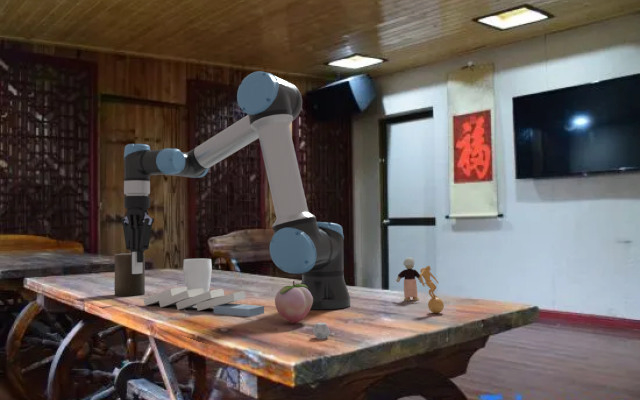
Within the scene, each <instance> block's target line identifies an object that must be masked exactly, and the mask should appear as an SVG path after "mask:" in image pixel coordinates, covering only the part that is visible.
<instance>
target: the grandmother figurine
mask: <svg viewBox="0 0 640 400" xmlns="http://www.w3.org/2000/svg"><path fill="white" fill-rule="evenodd" d="M415 262H416V261H415V259H414V258H413V257H411V256H409V257H406V259H404V260H403V263H402V264H403V265H404V266H405V268H406V269H403V270H402V271H400V272H399V274H397V279H396V282H397V283H399V282H400V281H401V280H402V279H403V278H404V280H403V292H404V293H403V295H404V298H403V300H404V301H405V302H407V301H409V302H411V301H420V298H419V297H418V284H417V280H418V282H419V283H420V284H422V281H421V279H420V274H421V273H419V272H418V271H417V270H416V269H415V268H414V266H415ZM411 298H412V300H411Z"/></svg>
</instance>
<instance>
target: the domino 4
mask: <svg viewBox="0 0 640 400" xmlns="http://www.w3.org/2000/svg"><path fill="white" fill-rule="evenodd" d="M245 299H247V295H246V291H245V290H242V291H238V292H233V293H232V292H231V293H229V294H228V293H227V294H225V296H221V297H218V298H214V299H211V300H207V301H203V302H200V303H196V309H197V312H199V311H203V310H208V309H211V308H214V306H217V305H223V304H228V303H234V302H237V301H241V300H245Z"/></svg>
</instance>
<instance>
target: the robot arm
mask: <svg viewBox="0 0 640 400" xmlns="http://www.w3.org/2000/svg"><path fill="white" fill-rule="evenodd" d="M236 98H237V99H236V101H237V104H238V106H239V108H240V109H241V110H242V111H243V112H244V113H245V114H247V115H246V116H244V117H242V118H241V119H239V120H238V121H235V122H234V123H232V124H231V125H230V126H228V127H226V128H225V129H223V130H221V131H220V132H218V133H217V134H215V135H213V136H212V137H210V138H209V139H207V140H205V141H203V143H201V144H200V145H197V146H196V147H195V148H193V149H191V150H190V151H188V152H187V151H186V152H185V151H181V150H180V149H178V148H169V147H167V148H162V149H161V148H159V149H151V147H150V145H148V144H144V143H128V144H126V145H125V146H124V153H123V165H124V168H123V170H124V171H123V178H124V179H123V180H124V181H123V194H124V195H125V196H124V197H123V207H124V209H126V214H125V217H124V218H123V217H122V218H121V219H120V223H121V225H122V229H123V236H124V242H125V248H126V250H128V251H129V250H130V251H129V252H130V253H131V261H132V274H140V273H143V253H144V251H146V250H149V247H150V241H151V235H152V229H153V224H154V223H155V218H154V217H150V215H149V211H148V209H150V207H151V197H150V196H149V195H150V194H151V182H150V181H151V176H158V175H159V176H160V175H161V176H163V175H164V176H173V177H174V176H176V177H185V178H192V179H196V178H198V179H199V178H203V177H204V176H206V175H207V173H208V172H209V170H210V168H212V167H213V166H215V165H216V164H218V163H219V162H221V161H223V160H224V159H226V158H228V157H230V156H231V155H233V154H234V153H236V152H238V151H239V150H242V149H243V148H244V147H246V146H248V145H250V144H252V142H254V141H256V140H259V144H260V149H261V153H262V158H263V162H264V168H265V170H266V177H267V181H268V185H269V189H270V191H269V192H270V195H271V198H272V199H271V200H272V204H273V210H274V213H275V216H276V217H275V218H276V219H275V221H274V222H273V224H272V226H271V227H272V232H273V235H272V237H271V240H270V243H269V255H270V258H271V260H272V262H273V263H274V264H275V266H276V267H277V268H278V269H279V270H281V271H283V272H285V273H288V274H297V275H298V274H301V275H302V278H301V283H300V284H303V285H306V286H307V287H308V290H309V291H310V293H311V295H312V297H313V303H312V306H311V309H310V310H338V309H344V308H347V307H351V296H350V293H349V291H348V290H349V289H348V287H347V283H346V282H345V281H346V280H345V277H344V266H345V265H344V240H345V236H344V233H343V232H344V231H343V230H344V229H343V226H342V225H340V224H338V223H334V222H325V221H323V222H322V221H317V217H316V216H315V214H312V213H311V212H310V211H309V209H308V204H307V200H306V195H305V190H304V187H303V182H302V177H301V173H300V168H299V162H298V160H297V154H296V150H295V146H294V142H293V138H292V132H291V127H290V124H291V123H292V122H293V121H294V120H296V119H297V117H298V116H299V115H300V113H301V111H302V108H303V98H302V93H301V92H300V90H299V89H298V87H297V86H296V85H295V84H293V83H291V82H290V81H288V80H285V79H282V78H280V77H278V76H276V75H274V74H273V73H271V72H265V71H263V70H262V71H258V70H257V71H253V72H252V73H250V74H248V75H246V77H244V78H243V80H242V81H241V82H240V85H239V86H238V89H237V94H236ZM306 289H307V288H306Z"/></svg>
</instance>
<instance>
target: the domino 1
mask: <svg viewBox="0 0 640 400" xmlns="http://www.w3.org/2000/svg"><path fill="white" fill-rule="evenodd" d="M186 290H187V287H186V286H182V287H174V288H169V289H166V290H164V291H162V292H159V293H156V294H154V295H150V296H148V297H146V298H143V299H142V300H143V303H144V306H145V307H146V306H152V305H160V303H159V300H162V299H165V298H167V297H170V296H173V295H176V294H178V293H181V292H184V291H186Z"/></svg>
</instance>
